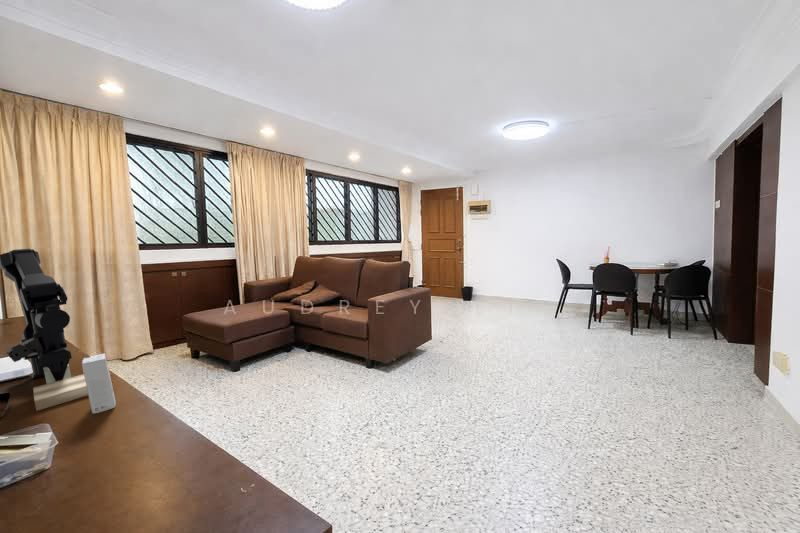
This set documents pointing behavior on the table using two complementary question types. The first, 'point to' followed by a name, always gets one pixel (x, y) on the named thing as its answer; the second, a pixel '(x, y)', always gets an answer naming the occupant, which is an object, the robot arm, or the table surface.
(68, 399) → the maple plinth
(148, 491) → the table surface
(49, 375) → the sage cube
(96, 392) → the skincare box
